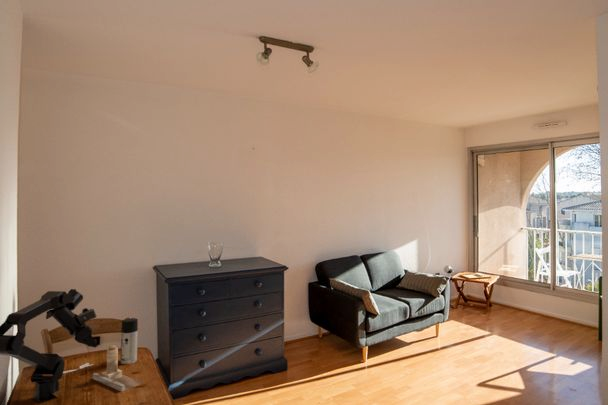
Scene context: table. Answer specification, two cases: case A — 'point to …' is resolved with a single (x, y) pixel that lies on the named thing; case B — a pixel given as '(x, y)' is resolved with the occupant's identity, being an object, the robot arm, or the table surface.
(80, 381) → the table surface
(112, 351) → the white tall rounded post
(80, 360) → the table surface
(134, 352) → the spray can
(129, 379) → the board
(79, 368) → the pliers
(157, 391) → the table surface
